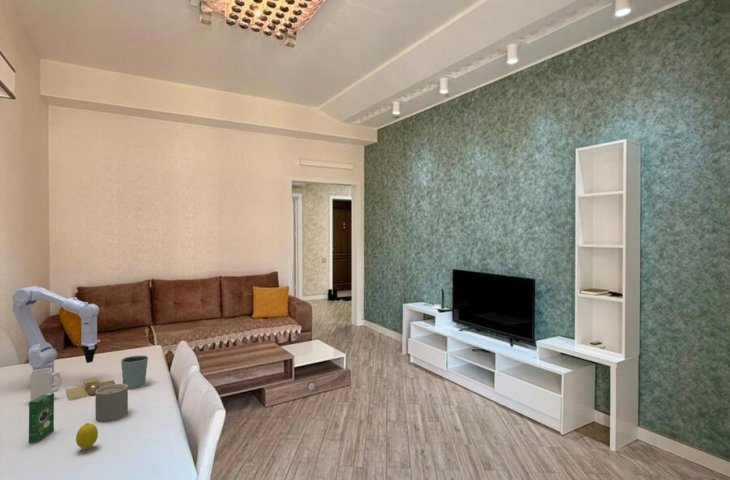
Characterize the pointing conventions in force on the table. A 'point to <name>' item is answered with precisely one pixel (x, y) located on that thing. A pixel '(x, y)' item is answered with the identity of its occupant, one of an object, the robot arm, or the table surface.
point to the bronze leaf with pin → (93, 386)
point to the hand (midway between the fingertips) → (89, 362)
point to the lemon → (86, 436)
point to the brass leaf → (80, 389)
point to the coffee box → (41, 417)
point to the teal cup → (134, 371)
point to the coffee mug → (111, 402)
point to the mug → (43, 382)
